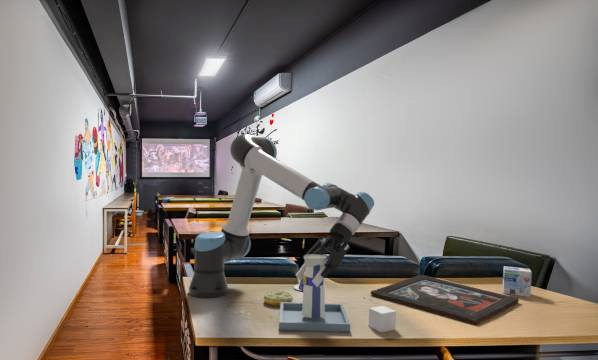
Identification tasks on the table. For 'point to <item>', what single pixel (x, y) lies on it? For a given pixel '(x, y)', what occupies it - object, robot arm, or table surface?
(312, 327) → the blue-gray tray
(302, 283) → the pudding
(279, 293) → the decorated donut
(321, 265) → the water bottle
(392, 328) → the white cube
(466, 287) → the religious icon
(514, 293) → the light bulb box
